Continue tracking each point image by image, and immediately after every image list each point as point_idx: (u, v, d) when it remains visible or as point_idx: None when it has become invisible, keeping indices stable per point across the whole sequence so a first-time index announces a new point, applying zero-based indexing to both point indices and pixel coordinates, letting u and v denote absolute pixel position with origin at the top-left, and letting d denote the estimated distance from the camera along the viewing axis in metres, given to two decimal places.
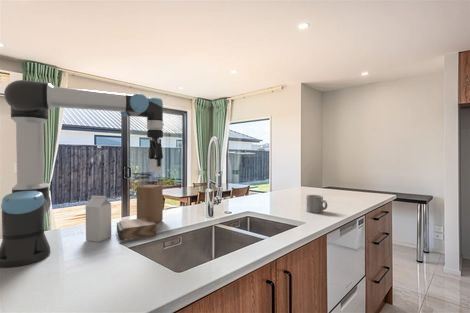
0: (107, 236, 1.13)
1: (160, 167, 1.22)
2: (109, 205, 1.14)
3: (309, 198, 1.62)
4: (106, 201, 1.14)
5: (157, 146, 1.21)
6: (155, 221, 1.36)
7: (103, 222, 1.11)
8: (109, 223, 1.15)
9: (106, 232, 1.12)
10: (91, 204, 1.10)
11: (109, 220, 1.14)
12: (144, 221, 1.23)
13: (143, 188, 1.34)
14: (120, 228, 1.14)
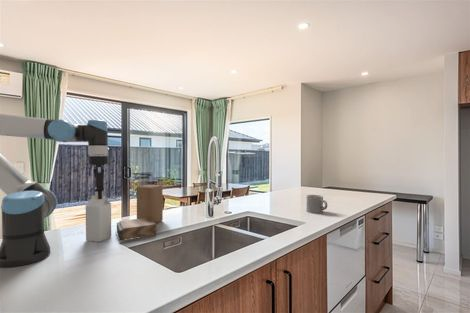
0: (107, 236, 1.13)
1: (102, 199, 1.07)
2: (109, 205, 1.14)
3: (309, 198, 1.62)
4: (106, 201, 1.14)
5: (97, 176, 1.05)
6: (155, 221, 1.36)
7: (103, 222, 1.11)
8: (109, 223, 1.15)
9: (106, 232, 1.12)
10: (91, 204, 1.10)
11: (109, 220, 1.14)
12: (144, 221, 1.23)
13: (143, 188, 1.34)
14: (120, 228, 1.14)
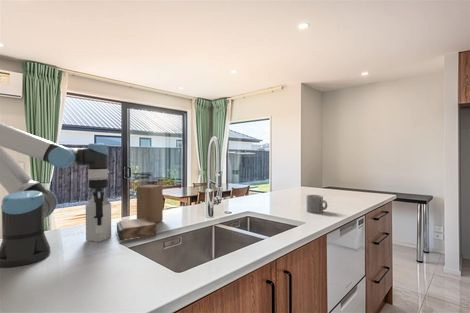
0: (107, 236, 1.13)
1: (101, 225, 1.08)
2: (109, 205, 1.14)
3: (309, 198, 1.62)
4: (106, 201, 1.14)
5: (97, 202, 1.06)
6: (155, 221, 1.36)
7: (103, 222, 1.11)
8: (109, 223, 1.15)
9: (106, 232, 1.12)
10: (91, 204, 1.10)
11: (109, 220, 1.14)
12: (144, 221, 1.23)
13: (143, 188, 1.34)
14: (120, 228, 1.14)
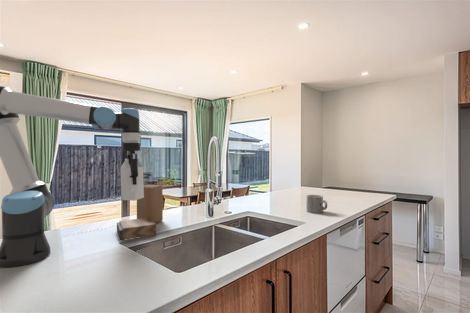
0: (140, 196, 1.20)
1: (136, 185, 1.15)
2: (141, 167, 1.21)
3: (309, 198, 1.62)
4: (139, 164, 1.20)
5: (132, 163, 1.13)
6: (155, 221, 1.36)
7: None
8: (142, 185, 1.21)
9: (140, 192, 1.19)
10: (125, 166, 1.17)
11: (142, 182, 1.21)
12: (144, 221, 1.23)
13: None
14: (120, 228, 1.14)
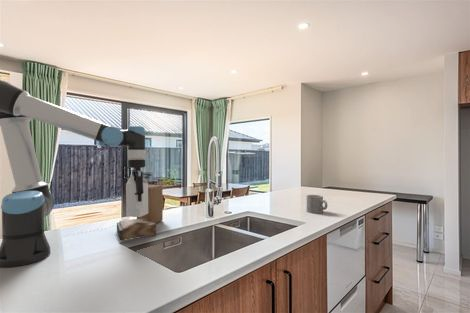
0: (145, 212, 1.21)
1: (141, 202, 1.16)
2: (146, 184, 1.22)
3: (309, 198, 1.62)
4: (144, 180, 1.22)
5: (138, 180, 1.14)
6: (155, 221, 1.36)
7: None
8: (147, 201, 1.22)
9: (144, 209, 1.20)
10: (131, 182, 1.18)
11: (146, 198, 1.22)
12: (144, 221, 1.23)
13: None
14: (120, 228, 1.14)
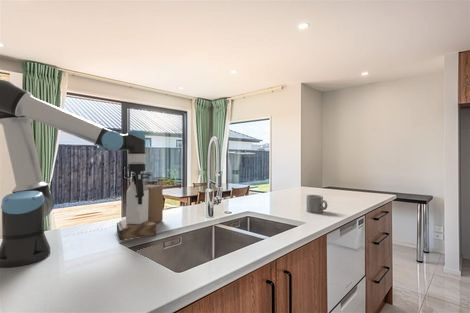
0: (145, 220, 1.21)
1: (141, 205, 1.15)
2: (147, 191, 1.22)
3: (309, 198, 1.62)
4: (144, 187, 1.22)
5: (138, 183, 1.13)
6: (155, 221, 1.36)
7: None
8: (147, 208, 1.22)
9: (144, 216, 1.20)
10: (132, 189, 1.18)
11: (147, 205, 1.22)
12: None
13: None
14: (120, 228, 1.14)
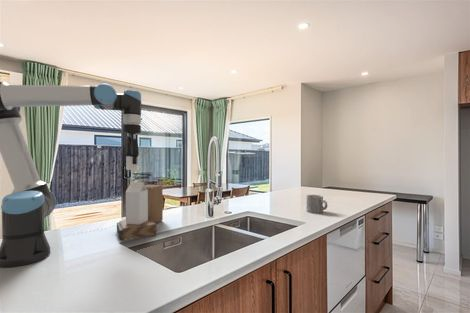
0: (145, 220, 1.21)
1: (136, 165, 1.12)
2: (146, 191, 1.22)
3: (309, 198, 1.62)
4: (143, 187, 1.22)
5: (133, 142, 1.11)
6: (155, 221, 1.36)
7: (142, 206, 1.19)
8: (146, 208, 1.22)
9: (144, 216, 1.20)
10: (131, 190, 1.18)
11: (146, 205, 1.22)
12: None
13: None
14: (120, 228, 1.14)
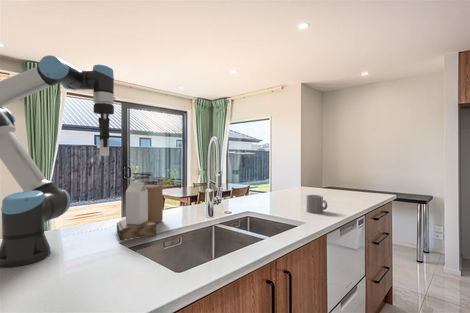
0: (145, 220, 1.21)
1: (107, 148, 1.00)
2: (146, 191, 1.22)
3: (309, 198, 1.62)
4: (143, 187, 1.22)
5: (103, 122, 0.99)
6: (155, 221, 1.36)
7: (142, 206, 1.19)
8: (146, 208, 1.22)
9: (144, 216, 1.20)
10: (131, 190, 1.18)
11: (146, 205, 1.22)
12: None
13: None
14: (120, 228, 1.14)
